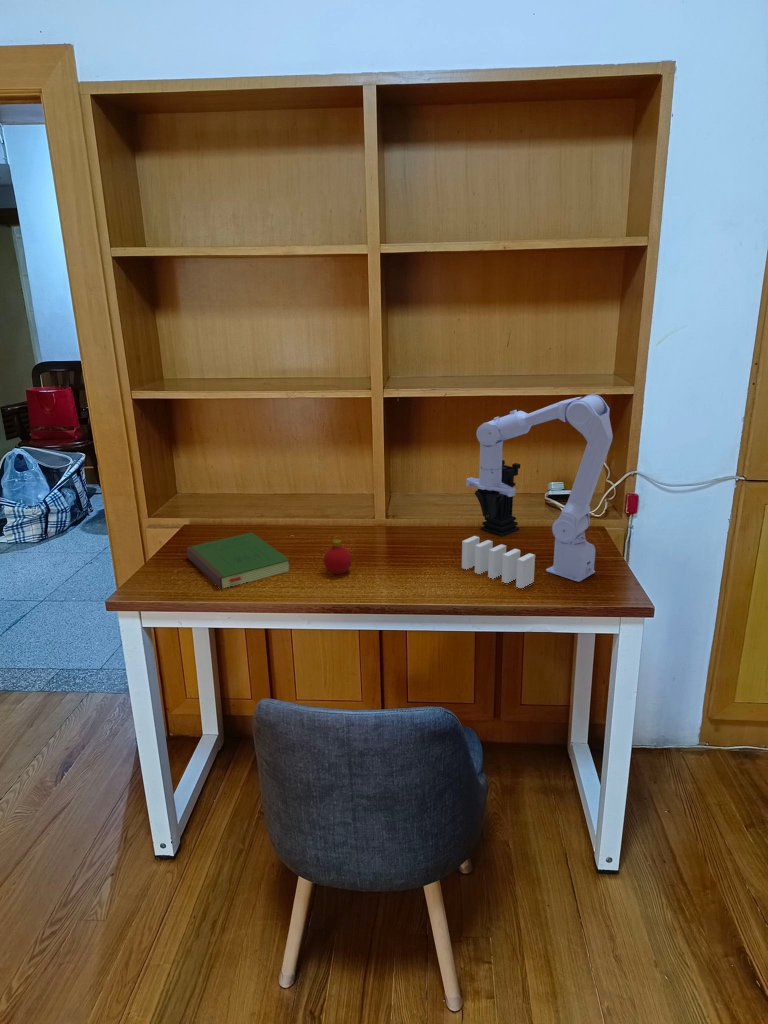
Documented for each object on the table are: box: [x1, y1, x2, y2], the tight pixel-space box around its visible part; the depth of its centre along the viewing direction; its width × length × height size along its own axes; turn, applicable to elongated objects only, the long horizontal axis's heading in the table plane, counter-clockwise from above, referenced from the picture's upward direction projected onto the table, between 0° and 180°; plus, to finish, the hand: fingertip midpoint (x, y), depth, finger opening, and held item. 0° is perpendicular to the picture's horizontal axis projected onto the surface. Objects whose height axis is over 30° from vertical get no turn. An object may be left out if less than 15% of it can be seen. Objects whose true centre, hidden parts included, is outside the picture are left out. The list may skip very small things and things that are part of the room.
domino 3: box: [487, 543, 507, 580], centre depth 169 cm, size 2×5×8 cm, turn 134°
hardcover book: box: [186, 532, 290, 590], centre depth 180 cm, size 25×19×4 cm
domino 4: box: [501, 548, 522, 584], centre depth 166 cm, size 2×5×8 cm, turn 134°
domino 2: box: [474, 539, 494, 575], centre depth 172 cm, size 2×5×8 cm, turn 134°
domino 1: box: [461, 535, 481, 571], centre depth 175 cm, size 2×5×8 cm, turn 134°
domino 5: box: [515, 552, 536, 589], centre depth 164 cm, size 2×5×8 cm, turn 135°
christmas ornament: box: [323, 535, 353, 575], centre depth 173 cm, size 7×7×10 cm
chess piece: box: [479, 459, 521, 538], centre depth 197 cm, size 8×8×20 cm
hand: (489, 516), depth 181 cm, fingers closed
